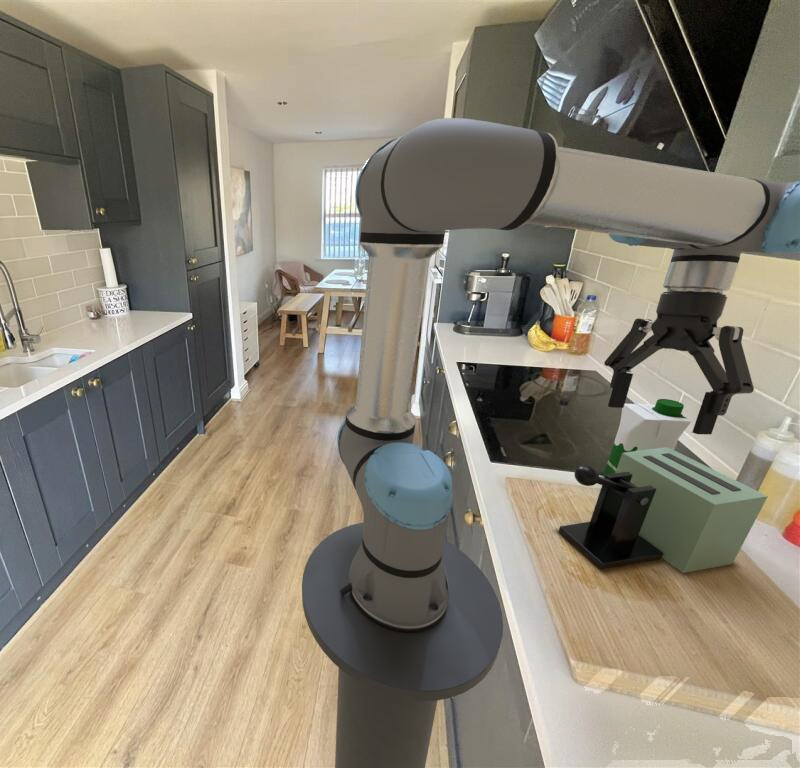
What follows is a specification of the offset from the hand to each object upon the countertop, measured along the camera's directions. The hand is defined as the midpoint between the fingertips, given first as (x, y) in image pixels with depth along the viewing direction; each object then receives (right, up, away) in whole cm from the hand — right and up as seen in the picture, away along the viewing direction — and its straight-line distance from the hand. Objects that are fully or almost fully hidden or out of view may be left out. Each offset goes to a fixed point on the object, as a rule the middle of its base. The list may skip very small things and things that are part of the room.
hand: (654, 419), depth 67 cm
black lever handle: (-10, -12, -2) cm, 16 cm away
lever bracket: (-5, -23, +4) cm, 24 cm away
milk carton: (+12, -16, +20) cm, 29 cm away
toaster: (+6, -22, +6) cm, 24 cm away
